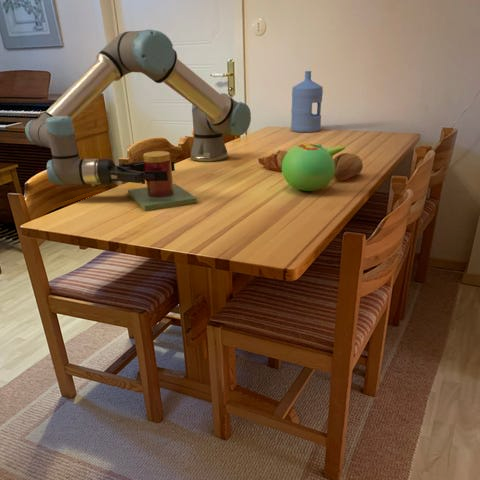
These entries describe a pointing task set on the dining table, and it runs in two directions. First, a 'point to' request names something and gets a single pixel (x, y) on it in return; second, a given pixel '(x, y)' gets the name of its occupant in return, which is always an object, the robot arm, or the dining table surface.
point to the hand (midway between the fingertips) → (171, 170)
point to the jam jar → (160, 186)
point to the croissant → (273, 161)
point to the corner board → (161, 198)
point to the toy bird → (309, 166)
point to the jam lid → (156, 156)
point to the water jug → (306, 105)
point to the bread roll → (347, 166)
